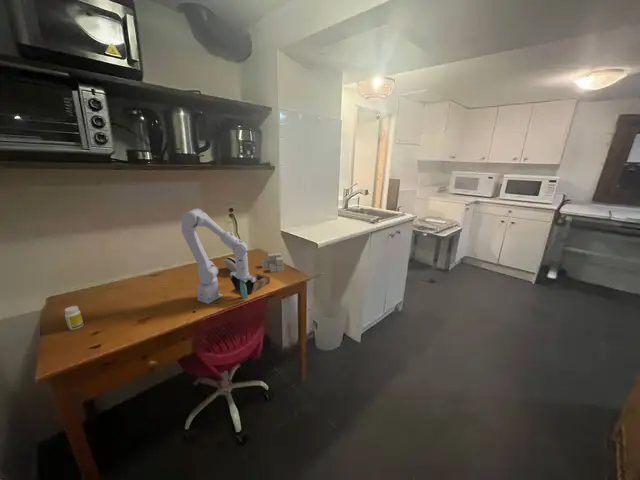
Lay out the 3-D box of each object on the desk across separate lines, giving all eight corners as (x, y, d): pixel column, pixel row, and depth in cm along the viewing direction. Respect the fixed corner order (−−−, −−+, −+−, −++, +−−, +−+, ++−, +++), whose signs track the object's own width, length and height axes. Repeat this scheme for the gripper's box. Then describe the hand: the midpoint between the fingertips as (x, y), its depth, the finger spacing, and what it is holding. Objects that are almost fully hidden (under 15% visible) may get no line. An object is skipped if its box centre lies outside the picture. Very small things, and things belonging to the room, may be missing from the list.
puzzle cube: (261, 266, 179) (261, 254, 176) (280, 264, 182) (280, 252, 180) (263, 273, 168) (263, 260, 165) (283, 271, 171) (283, 259, 169)
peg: (244, 299, 136) (243, 282, 133) (239, 298, 137) (238, 281, 135) (248, 296, 139) (247, 280, 136) (244, 295, 140) (242, 279, 137)
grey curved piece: (248, 273, 166) (241, 260, 161) (241, 278, 163) (235, 264, 159) (234, 266, 177) (228, 253, 172) (227, 270, 175) (221, 257, 170)
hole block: (250, 294, 141) (250, 288, 140) (237, 290, 145) (236, 284, 144) (270, 282, 155) (269, 276, 154) (257, 279, 159) (257, 273, 158)
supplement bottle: (86, 323, 115) (82, 305, 113) (77, 330, 111) (72, 311, 108) (74, 323, 115) (69, 305, 113) (65, 330, 110) (59, 311, 108)
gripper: (259, 266, 133) (260, 292, 137) (236, 261, 140) (238, 285, 144) (249, 271, 127) (250, 298, 131) (226, 265, 134) (228, 291, 138)
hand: (243, 292), depth 137 cm, fingers open, 7 cm apart
